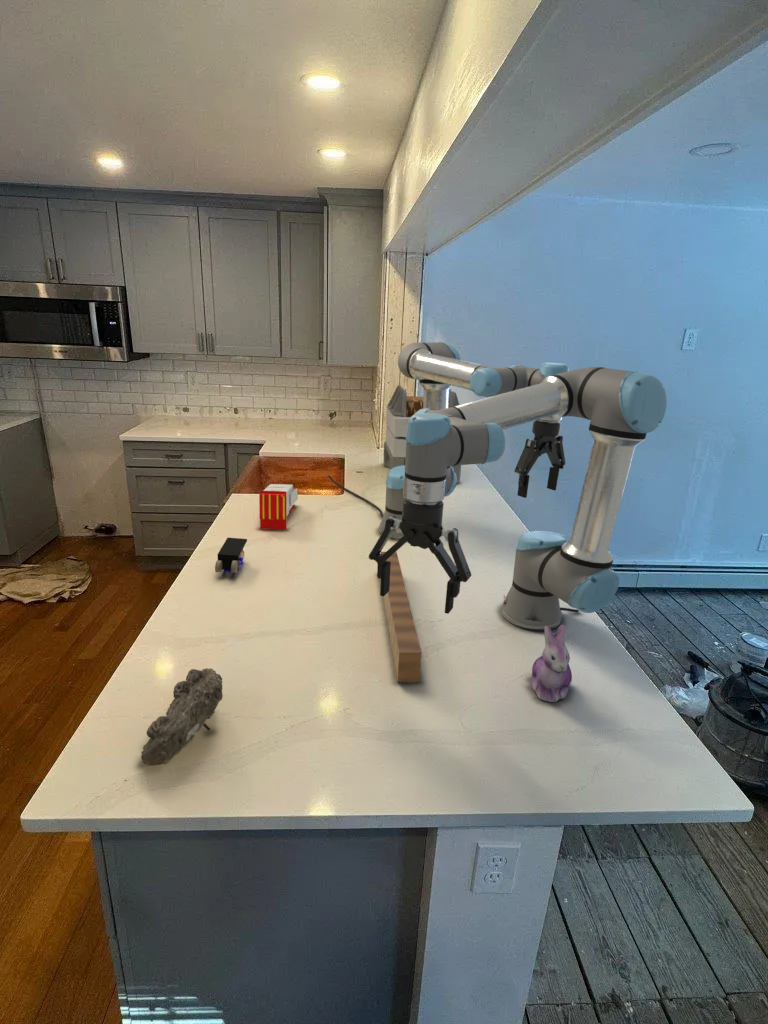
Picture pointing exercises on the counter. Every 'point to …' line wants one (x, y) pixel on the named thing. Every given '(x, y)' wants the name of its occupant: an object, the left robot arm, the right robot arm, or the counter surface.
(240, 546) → the black toy car
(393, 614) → the bar
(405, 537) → the right robot arm
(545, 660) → the figurine
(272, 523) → the toy
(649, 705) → the counter surface
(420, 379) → the left robot arm
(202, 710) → the fossil
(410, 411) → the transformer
